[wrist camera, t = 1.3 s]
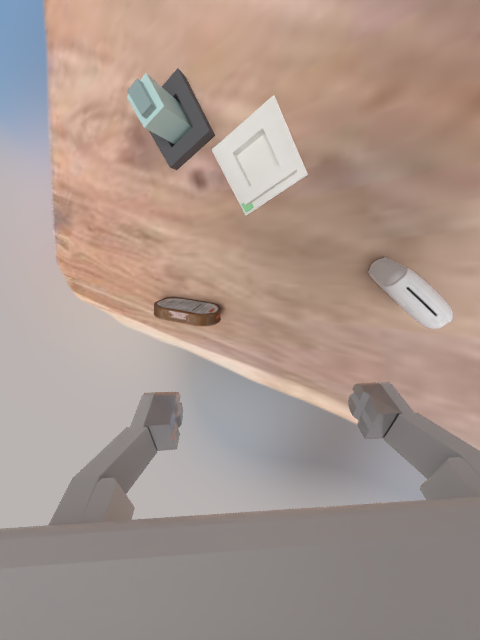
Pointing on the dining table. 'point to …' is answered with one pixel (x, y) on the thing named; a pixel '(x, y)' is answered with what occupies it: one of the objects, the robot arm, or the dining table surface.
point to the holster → (201, 127)
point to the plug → (158, 109)
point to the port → (260, 157)
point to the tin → (187, 311)
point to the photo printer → (411, 293)
